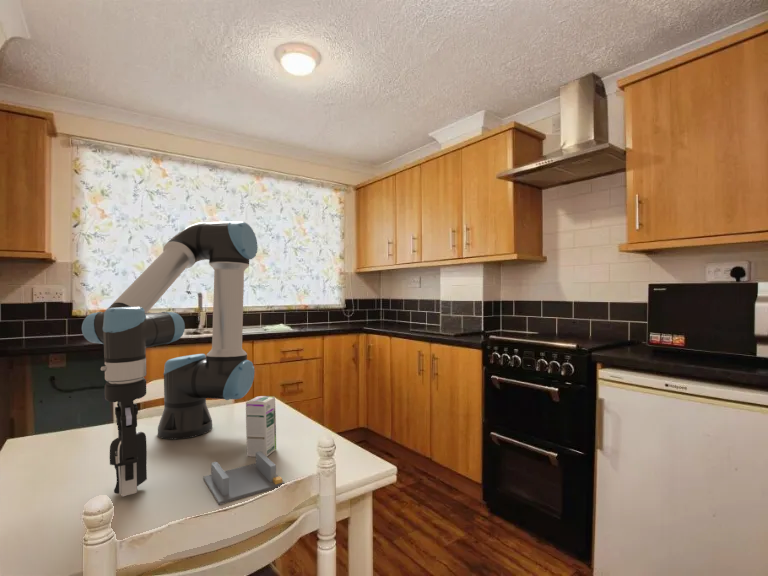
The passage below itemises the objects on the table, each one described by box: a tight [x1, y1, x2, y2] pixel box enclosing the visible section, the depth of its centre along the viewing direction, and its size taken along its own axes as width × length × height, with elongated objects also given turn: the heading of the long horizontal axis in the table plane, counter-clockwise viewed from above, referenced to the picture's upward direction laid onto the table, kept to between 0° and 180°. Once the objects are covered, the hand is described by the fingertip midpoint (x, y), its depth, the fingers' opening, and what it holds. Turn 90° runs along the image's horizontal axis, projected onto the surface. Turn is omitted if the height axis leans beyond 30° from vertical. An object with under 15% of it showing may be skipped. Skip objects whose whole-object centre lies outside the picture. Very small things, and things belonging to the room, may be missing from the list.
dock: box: [202, 451, 286, 505], centre depth 93 cm, size 14×14×4 cm
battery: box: [109, 431, 148, 495], centre depth 88 cm, size 7×4×11 cm, turn 170°
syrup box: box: [245, 395, 277, 458], centre depth 110 cm, size 6×6×14 cm
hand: (127, 486), depth 88 cm, fingers closed on battery, 7 cm apart
